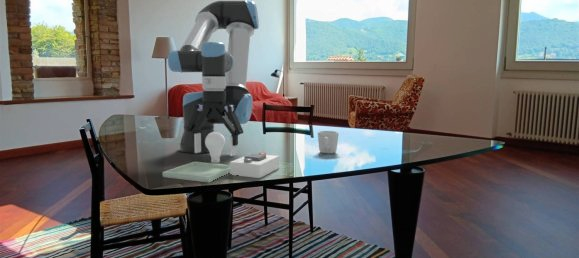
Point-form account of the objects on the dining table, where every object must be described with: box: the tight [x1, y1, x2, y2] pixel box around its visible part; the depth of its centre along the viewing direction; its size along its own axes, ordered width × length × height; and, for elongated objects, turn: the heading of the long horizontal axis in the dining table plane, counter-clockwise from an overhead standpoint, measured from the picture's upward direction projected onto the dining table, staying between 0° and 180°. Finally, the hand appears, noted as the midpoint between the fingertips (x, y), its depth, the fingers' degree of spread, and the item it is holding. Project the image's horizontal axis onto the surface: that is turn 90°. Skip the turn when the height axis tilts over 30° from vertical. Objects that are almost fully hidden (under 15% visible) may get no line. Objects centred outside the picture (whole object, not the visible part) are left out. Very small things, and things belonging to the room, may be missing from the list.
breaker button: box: [243, 153, 267, 161], centre depth 131 cm, size 5×5×4 cm
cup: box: [317, 130, 339, 155], centre depth 160 cm, size 11×8×8 cm
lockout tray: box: [162, 161, 230, 183], centre depth 128 cm, size 16×16×2 cm
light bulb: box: [205, 131, 226, 164], centre depth 141 cm, size 7×7×11 cm
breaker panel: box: [229, 152, 280, 179], centre depth 131 cm, size 10×14×5 cm
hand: (215, 154), depth 141 cm, fingers open, 13 cm apart
